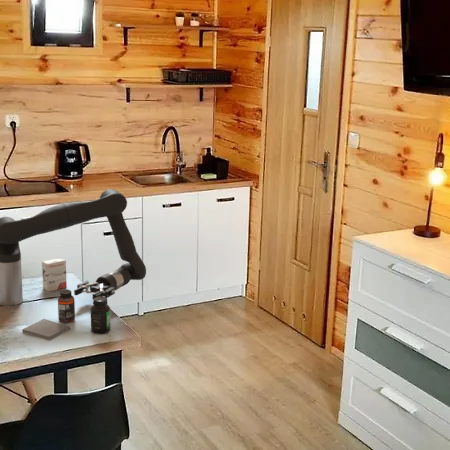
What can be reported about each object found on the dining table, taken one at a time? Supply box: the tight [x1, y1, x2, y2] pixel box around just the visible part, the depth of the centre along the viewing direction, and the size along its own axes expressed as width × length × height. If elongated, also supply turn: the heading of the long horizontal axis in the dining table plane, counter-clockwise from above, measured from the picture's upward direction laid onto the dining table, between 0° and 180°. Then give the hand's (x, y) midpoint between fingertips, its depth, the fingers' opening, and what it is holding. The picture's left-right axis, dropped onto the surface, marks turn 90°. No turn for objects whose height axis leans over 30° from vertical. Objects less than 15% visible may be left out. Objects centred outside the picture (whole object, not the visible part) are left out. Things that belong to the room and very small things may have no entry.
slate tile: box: [21, 318, 71, 341], centre depth 248 cm, size 12×11×1 cm
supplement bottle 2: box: [90, 296, 111, 335], centre depth 249 cm, size 7×7×12 cm
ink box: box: [41, 257, 68, 292], centre depth 288 cm, size 9×5×12 cm, turn 130°
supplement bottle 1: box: [57, 289, 76, 324], centre depth 256 cm, size 6×6×11 cm
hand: (84, 295), depth 265 cm, fingers open, 8 cm apart
